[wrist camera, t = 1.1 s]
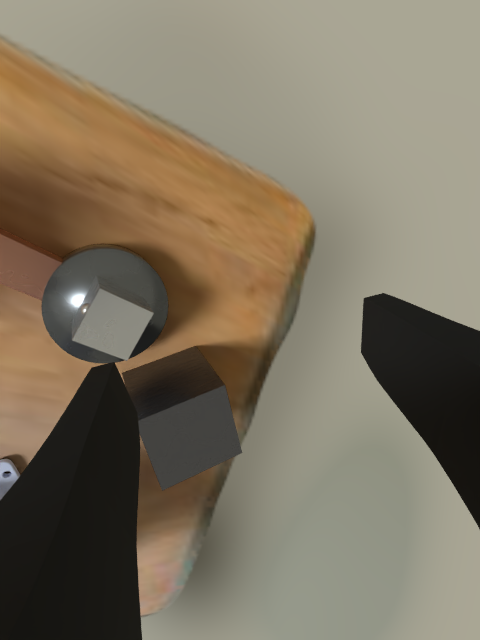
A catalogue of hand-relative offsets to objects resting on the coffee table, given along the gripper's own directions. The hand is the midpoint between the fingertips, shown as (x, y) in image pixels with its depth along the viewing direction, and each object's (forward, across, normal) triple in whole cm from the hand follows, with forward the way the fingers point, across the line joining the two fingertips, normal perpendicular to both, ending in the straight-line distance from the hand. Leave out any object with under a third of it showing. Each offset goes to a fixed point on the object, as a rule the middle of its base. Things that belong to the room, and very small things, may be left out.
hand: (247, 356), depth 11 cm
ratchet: (+14, +9, +2) cm, 16 cm away
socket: (+13, +5, +12) cm, 18 cm away
